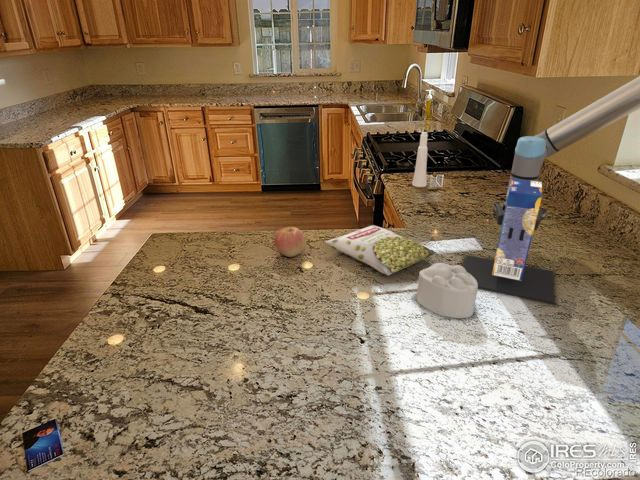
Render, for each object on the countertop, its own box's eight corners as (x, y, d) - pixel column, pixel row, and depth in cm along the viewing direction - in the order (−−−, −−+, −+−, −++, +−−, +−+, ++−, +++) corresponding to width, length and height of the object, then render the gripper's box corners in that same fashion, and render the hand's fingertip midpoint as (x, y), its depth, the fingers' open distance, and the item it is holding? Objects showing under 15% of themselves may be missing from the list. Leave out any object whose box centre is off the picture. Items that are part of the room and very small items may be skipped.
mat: (552, 272, 113) (552, 270, 113) (553, 304, 100) (554, 302, 100) (466, 256, 121) (466, 255, 121) (457, 283, 108) (457, 281, 108)
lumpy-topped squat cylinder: (437, 284, 108) (441, 254, 104) (483, 307, 99) (489, 275, 95) (410, 299, 102) (414, 268, 98) (457, 325, 93) (463, 291, 89)
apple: (286, 264, 118) (285, 238, 115) (269, 252, 124) (267, 227, 121) (311, 254, 123) (310, 229, 120) (293, 244, 129) (292, 220, 126)
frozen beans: (389, 265, 105) (322, 233, 122) (387, 285, 107) (322, 251, 124) (439, 243, 117) (372, 216, 134) (436, 261, 120) (371, 233, 137)
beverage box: (523, 261, 112) (541, 181, 103) (521, 281, 104) (542, 195, 94) (495, 256, 115) (511, 178, 105) (491, 274, 106) (508, 191, 96)
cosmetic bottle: (418, 181, 183) (423, 130, 173) (429, 185, 178) (435, 132, 169) (408, 184, 179) (413, 132, 170) (420, 188, 175) (425, 134, 165)
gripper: (494, 185, 120) (485, 214, 101) (552, 192, 114) (555, 225, 95) (489, 209, 123) (480, 242, 104) (546, 218, 118) (547, 254, 98)
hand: (516, 234), depth 100 cm, fingers closed on beverage box, 2 cm apart
